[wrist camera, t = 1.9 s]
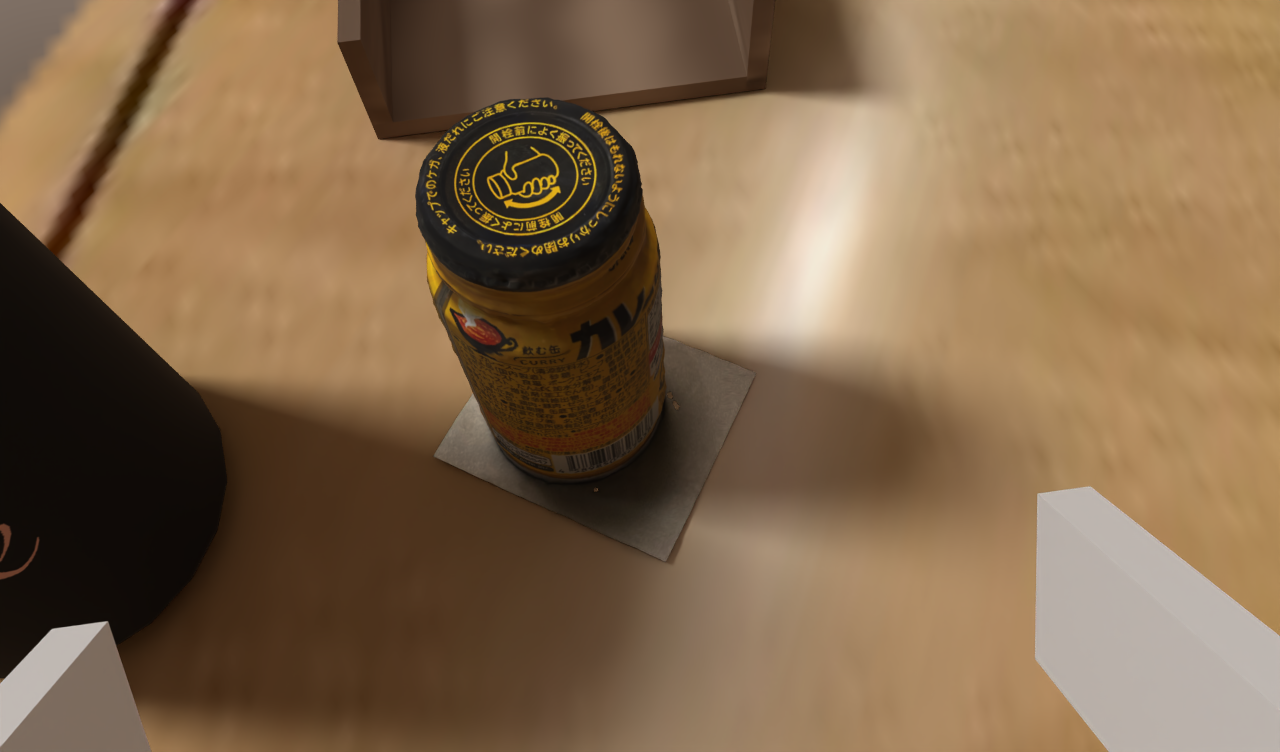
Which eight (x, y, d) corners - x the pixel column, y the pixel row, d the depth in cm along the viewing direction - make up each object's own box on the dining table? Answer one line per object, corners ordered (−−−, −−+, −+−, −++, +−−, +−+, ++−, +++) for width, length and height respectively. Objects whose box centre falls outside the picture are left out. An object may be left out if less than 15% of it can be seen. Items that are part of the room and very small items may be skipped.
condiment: (538, 288, 34) (474, 31, 24) (756, 375, 32) (793, 137, 22) (434, 459, 31) (306, 254, 21) (666, 565, 29) (657, 400, 19)
